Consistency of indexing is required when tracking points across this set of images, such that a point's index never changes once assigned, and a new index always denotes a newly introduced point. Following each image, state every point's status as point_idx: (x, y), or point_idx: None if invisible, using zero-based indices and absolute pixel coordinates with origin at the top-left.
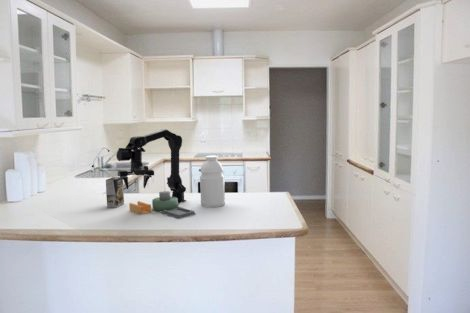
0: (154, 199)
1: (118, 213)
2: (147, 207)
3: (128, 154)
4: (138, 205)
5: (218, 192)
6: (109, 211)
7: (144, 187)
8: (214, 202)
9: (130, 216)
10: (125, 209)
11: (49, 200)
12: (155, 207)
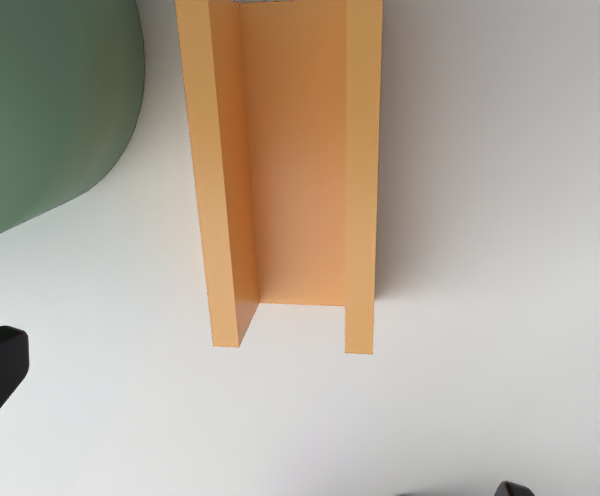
0: (11, 179)
1: (547, 288)
2: (227, 51)
3: None
4: (353, 117)
5: None
6: (553, 435)
7: (3, 336)
8: None
9: (549, 19)
10: (381, 372)
11: None
12: (113, 8)
